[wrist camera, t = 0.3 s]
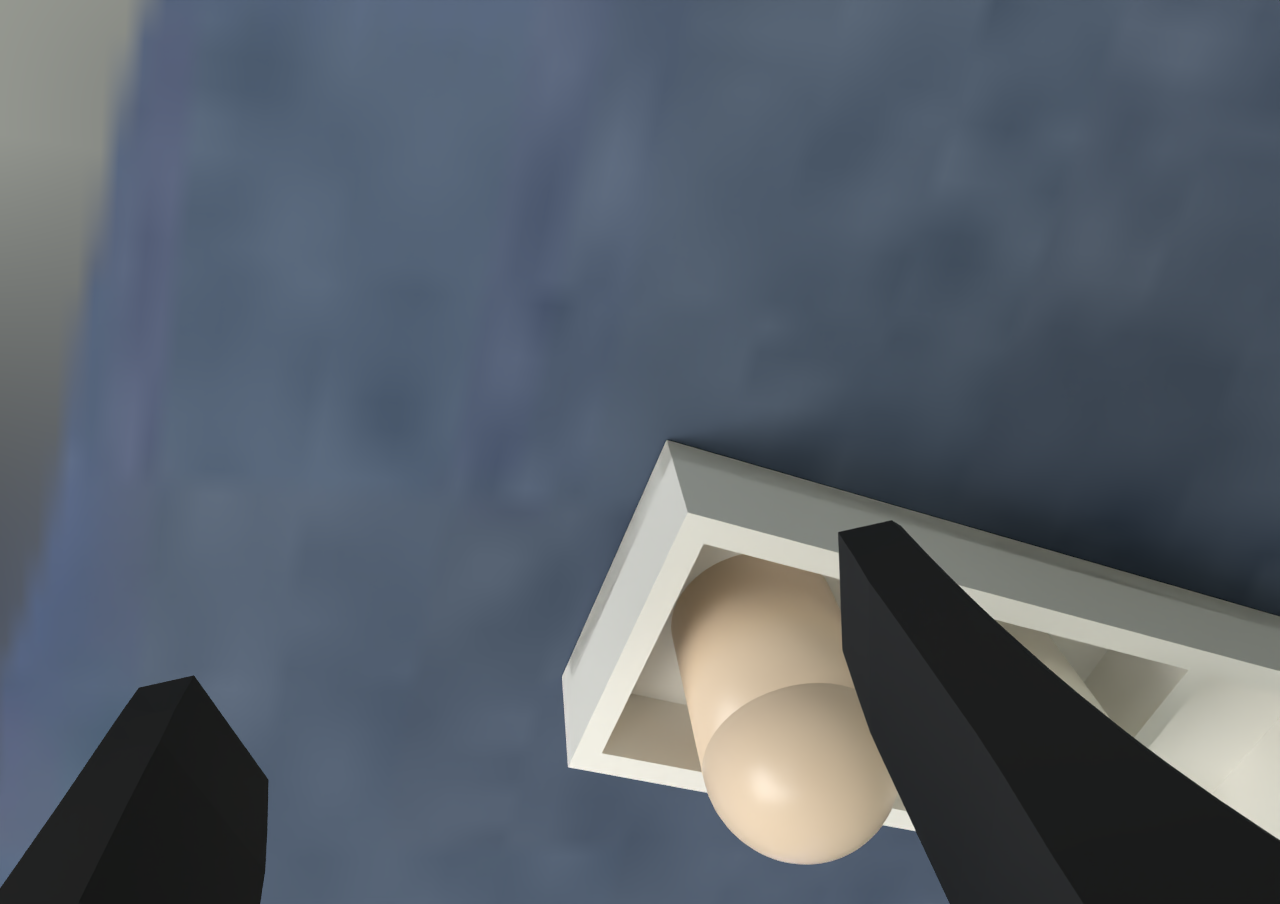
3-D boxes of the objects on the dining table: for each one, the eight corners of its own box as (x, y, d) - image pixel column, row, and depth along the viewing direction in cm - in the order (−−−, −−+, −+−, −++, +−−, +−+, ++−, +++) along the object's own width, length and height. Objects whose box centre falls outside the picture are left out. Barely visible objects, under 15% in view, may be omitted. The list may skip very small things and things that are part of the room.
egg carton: (1183, 807, 30) (1357, 1040, 24) (562, 676, 25) (579, 935, 19) (1336, 632, 27) (1580, 848, 21) (666, 439, 22) (729, 655, 16)
